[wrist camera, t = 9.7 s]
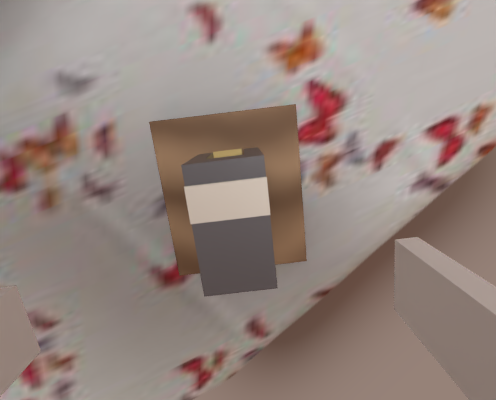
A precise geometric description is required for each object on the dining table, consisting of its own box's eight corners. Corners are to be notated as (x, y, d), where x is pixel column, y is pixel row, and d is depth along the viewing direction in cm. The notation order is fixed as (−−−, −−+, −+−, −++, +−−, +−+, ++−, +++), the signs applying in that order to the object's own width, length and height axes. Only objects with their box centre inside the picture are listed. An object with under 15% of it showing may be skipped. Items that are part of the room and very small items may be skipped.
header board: (154, 122, 24) (127, 120, 19) (292, 105, 24) (308, 98, 18) (182, 267, 28) (167, 304, 22) (303, 253, 28) (319, 287, 22)
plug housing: (198, 154, 24) (180, 165, 17) (258, 147, 24) (264, 155, 17) (214, 252, 26) (203, 298, 19) (268, 245, 26) (278, 289, 19)
